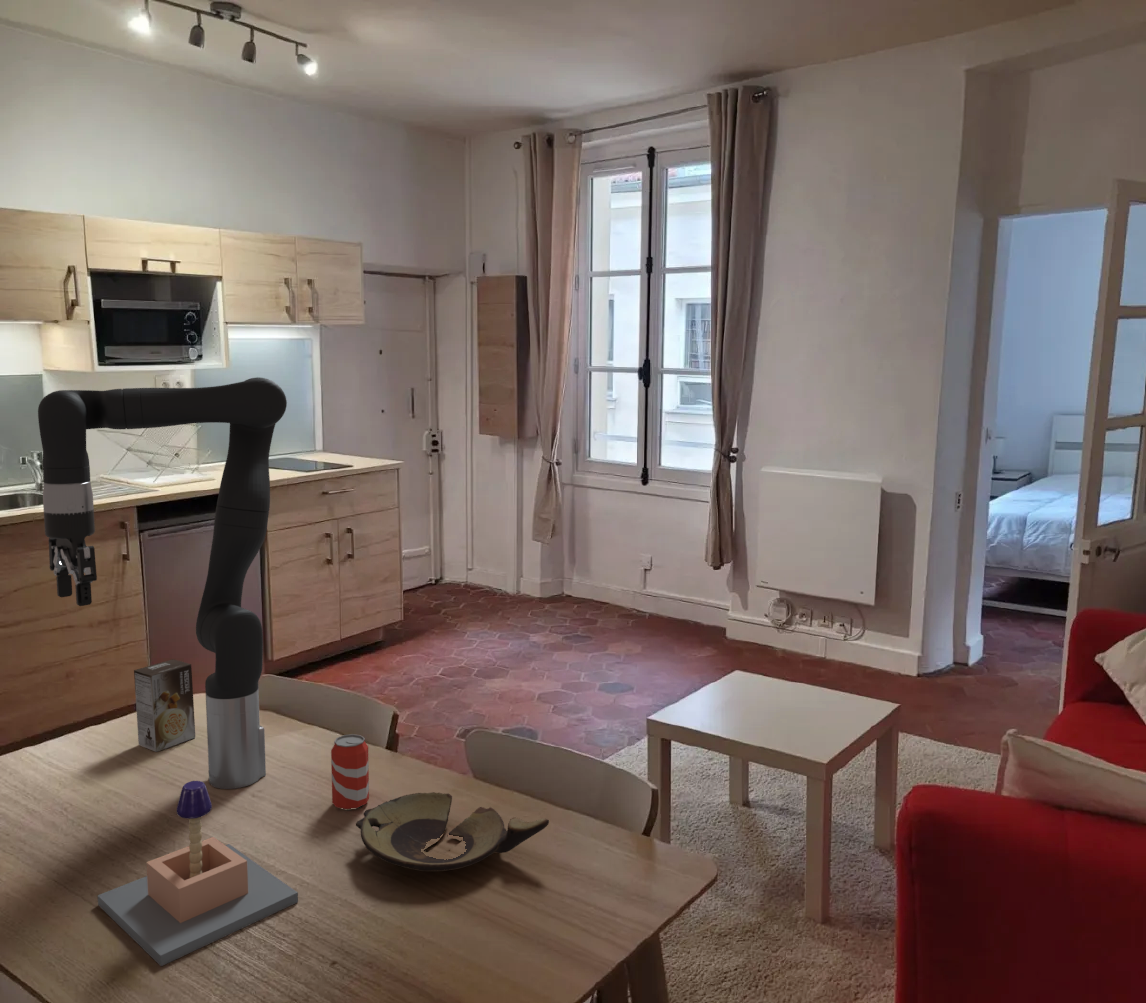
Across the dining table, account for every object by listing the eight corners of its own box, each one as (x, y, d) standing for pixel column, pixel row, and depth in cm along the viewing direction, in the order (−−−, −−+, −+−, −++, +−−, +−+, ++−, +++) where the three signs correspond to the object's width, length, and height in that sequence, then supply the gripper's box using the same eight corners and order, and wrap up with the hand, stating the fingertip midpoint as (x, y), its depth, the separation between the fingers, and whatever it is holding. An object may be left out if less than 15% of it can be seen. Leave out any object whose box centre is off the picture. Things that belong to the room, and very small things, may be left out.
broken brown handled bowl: (418, 806, 164) (417, 765, 163) (563, 852, 149) (563, 808, 148) (326, 863, 145) (325, 817, 144) (482, 922, 130) (482, 871, 129)
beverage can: (357, 814, 161) (356, 749, 159) (325, 808, 163) (324, 743, 161) (375, 799, 166) (374, 736, 165) (344, 794, 168) (343, 731, 167)
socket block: (229, 852, 147) (227, 814, 146) (298, 902, 134) (296, 860, 133) (98, 905, 133) (95, 862, 132) (161, 966, 119) (158, 920, 118)
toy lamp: (222, 888, 135) (218, 780, 132) (199, 905, 130) (195, 793, 128) (195, 881, 136) (190, 774, 134) (172, 898, 132) (167, 788, 130)
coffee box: (177, 731, 195) (174, 658, 193) (196, 738, 192) (193, 663, 190) (137, 745, 188) (133, 669, 185) (155, 753, 184) (151, 675, 182)
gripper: (108, 510, 156) (114, 604, 158) (75, 501, 165) (81, 590, 167) (61, 515, 150) (67, 612, 152) (29, 505, 160) (35, 597, 162)
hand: (74, 600), depth 160 cm, fingers open, 8 cm apart
